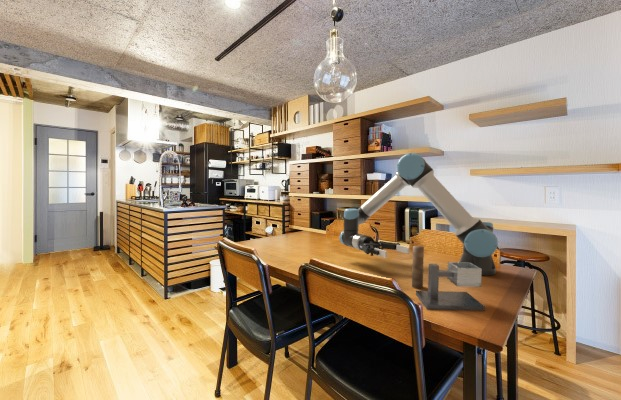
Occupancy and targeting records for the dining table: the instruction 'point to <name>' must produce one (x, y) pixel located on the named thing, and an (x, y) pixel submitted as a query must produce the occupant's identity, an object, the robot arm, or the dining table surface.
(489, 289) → the dining table surface
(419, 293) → the cup bracket
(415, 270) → the walnut rail
